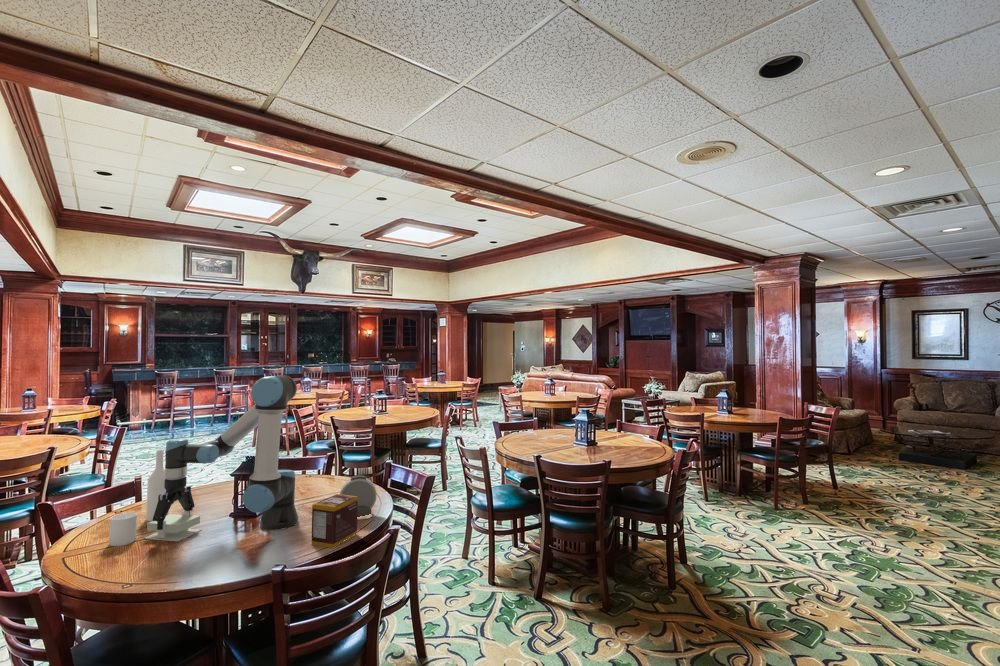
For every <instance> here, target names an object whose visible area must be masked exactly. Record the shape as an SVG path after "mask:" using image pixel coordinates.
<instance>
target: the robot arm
mask: <svg viewBox="0 0 1000 666" xmlns="http://www.w3.org/2000/svg"><path fill="white" fill-rule="evenodd" d="M297 391H298V386H297V383H296V381H295V380H294V378H292V377H290V376H288V375H283V374H281V375H267V376H265V377H261V378H259V379H258V380H256V381H255V383H253V385H252V387H251V390H250V396H251V400H252V401H253V402H254V404H253V406H252V407H251V408H249V410H247V411H246V412H245V413H243V414H242V416H240V417H238V419H237V420H236V421H235V422H233V423H232V424H231V425H230V426H229V427H228V428H227V429H225V431H223V432H222V433H221V434H220V435H219V436H217V437H216V439H214V440H211V441H208V442H204V443H201V444H199V443H196V444H193V443H192V444H190V443H189V441H188V439H187V438H173V439H169V440H168V441H166V444H165V450H164V452H165V454H164V455H165V456H164V457H165V466H164V470H165V478H166V479H165V482H164V488H165V489H166V493H165V494H163V495H161V494H160V495H159V496H158V503H157V507H156V510H155V513H154V516H153V521H157V530H158V531H157V532H158V538H165V534H166V520H164V519H165V517H166V515H167V513H168V514H169V512H168V511H170V510H171V506H172V505H173V504H174V503H175V502H176V501H178V502H179V504H180V505H181V507H182V509H183V510H182V512H181V515H191V511H193V509H194V508H195V502H194V498H193V495H192V486H191V485H187V478H188V477H187V475H188V464H204V465H205V464H212V463H215V462H216V460H218V458H220V457H223V456H224V457H225V456H227V455H228V454H230V453H232V452H233V450H234V448H235V447H236V445H237V444H239V443H240V442H241V441H242V440H243V439H244V438H245V437H247V436H248V435H249V434H250V433H251V432H253V430H254V429H256V428H257V433H256V446H255V457H254V470H253V473H252V474H251V475H250V476H249V478H248V479H249V480H248V486H247V487H246V488H245V490H244V491H243V493H242V503H243V504H244V506H245V508H247V510H248V511H250V512H252V513H256V514H260V513H262V514H261V518H260V520H259V528H260V529H262V530H266V531H279V530H283V529H289V528H291V526H292V527H294V526H296V525H297V524H298V523H299V515H298V512H297V508H296V506H295V496H296V494H295V493H296V487H295V486H296V472H295V471H294V470H292V469H279V457H280V456H279V455H280V442H281V432H282V431H281V430H282V417H283V413H284V412H285V411H287V404H288V403H289V402H290V401H291V400H293V398H295V396H296V395H297ZM168 500H169V501H168ZM161 517H162V518H161ZM295 524H296V525H295Z"/></svg>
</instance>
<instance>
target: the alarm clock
mask: <svg viewBox="0 0 1000 666" xmlns="http://www.w3.org/2000/svg"><path fill="white" fill-rule="evenodd" d="M339 494H342V495H350V496H358V507H357V517H360V516H365V515H369V514H371V513H372V509H373V507H374V506H375V504H376V501H377V496H378V495H377V489H376V486H375V484H374V483H373V481H372V480H370V479H369V478H368V477H366V475H360V474H359V475H354V476H351V477H350V479H348V480H347V481H346V482H344V484H343V485H342V486H341V488H340V491H339ZM372 514H373V513H372Z"/></svg>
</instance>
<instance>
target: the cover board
mask: <svg viewBox="0 0 1000 666" xmlns="http://www.w3.org/2000/svg"><path fill="white" fill-rule="evenodd" d="M164 520H166V532H174V533H179V532H181V531H183V530H186V529H188V528H189V529H191V528H192V527H194V526H196V525H199V524H200V523H201V516H200V515H194V514H193V515H192V514H190V515H182V514H173V513H170V514H169V513H168V515H167V516H166V517H165V519H164ZM146 525H147V529H146V530H147V532H148V531H149V532H158V530H157V521H148V522H147V524H146Z"/></svg>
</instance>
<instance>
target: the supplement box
mask: <svg viewBox="0 0 1000 666" xmlns="http://www.w3.org/2000/svg"><path fill="white" fill-rule="evenodd" d="M311 506H312V507H311V508H312V509H311V545H312V546H318V547H324V548H329V547H330V549H334V548H336V547H338V546H339V545H338V544H339V543H341V542H343V541H344V540H346V539H348V538H349V537H351V536H353V535H354V534H356V533H357V534H358V520H357V507H358V496H350V495H342V494H340V493H336V494H334V495H332V496H329V497H327V498H324V499H322V500H319V501H317V502H314V503H313V504H312V505H311ZM353 537H354V536H353ZM348 540H349V539H348ZM343 543H344V542H343ZM341 544H342V543H341ZM337 545H338V546H337ZM335 546H336V547H335ZM333 547H334V548H333Z"/></svg>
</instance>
